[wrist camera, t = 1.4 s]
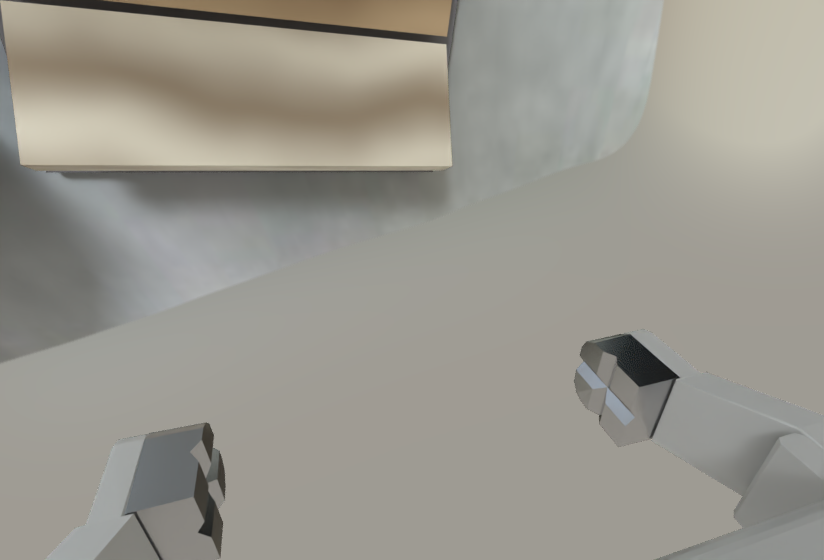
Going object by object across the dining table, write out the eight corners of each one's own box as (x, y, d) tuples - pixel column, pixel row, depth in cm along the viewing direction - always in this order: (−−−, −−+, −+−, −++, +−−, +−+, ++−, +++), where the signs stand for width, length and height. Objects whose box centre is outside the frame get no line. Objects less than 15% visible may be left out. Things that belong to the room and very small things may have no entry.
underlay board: (-84, -247, 17) (-99, -257, 16) (467, -119, 24) (475, -122, 24) (51, 166, 26) (46, 172, 25) (427, 166, 33) (432, 171, 32)
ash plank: (17, 17, 21) (0, 0, 19) (436, 55, 28) (446, 44, 26) (35, 170, 21) (20, 164, 20) (442, 170, 28) (452, 166, 27)
